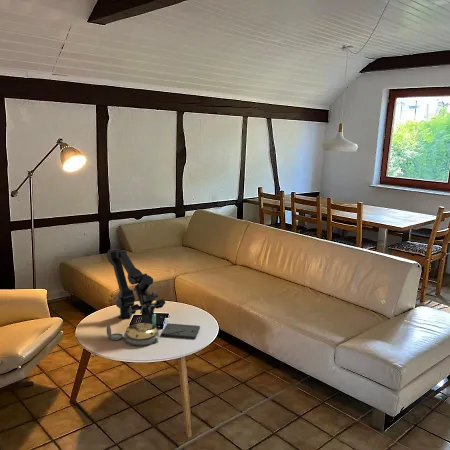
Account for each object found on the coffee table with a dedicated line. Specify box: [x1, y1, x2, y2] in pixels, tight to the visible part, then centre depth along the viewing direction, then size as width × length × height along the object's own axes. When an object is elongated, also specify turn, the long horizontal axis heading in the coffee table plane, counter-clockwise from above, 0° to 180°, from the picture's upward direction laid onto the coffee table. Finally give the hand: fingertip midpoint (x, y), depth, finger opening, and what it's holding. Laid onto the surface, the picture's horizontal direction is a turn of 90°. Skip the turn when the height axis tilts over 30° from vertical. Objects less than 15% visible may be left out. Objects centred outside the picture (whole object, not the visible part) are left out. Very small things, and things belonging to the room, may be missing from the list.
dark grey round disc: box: [123, 330, 160, 347], centre depth 226 cm, size 17×18×3 cm
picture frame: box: [160, 323, 201, 340], centre depth 234 cm, size 13×2×18 cm
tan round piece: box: [125, 313, 158, 341], centre depth 225 cm, size 15×15×10 cm
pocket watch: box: [106, 320, 124, 341], centre depth 225 cm, size 8×8×10 cm
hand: (152, 321), depth 228 cm, fingers closed, pressing on tan round piece
